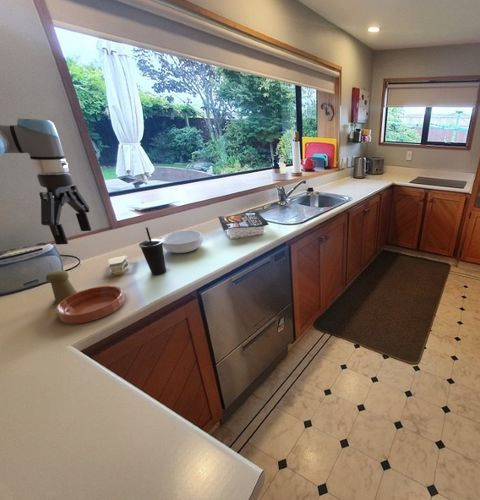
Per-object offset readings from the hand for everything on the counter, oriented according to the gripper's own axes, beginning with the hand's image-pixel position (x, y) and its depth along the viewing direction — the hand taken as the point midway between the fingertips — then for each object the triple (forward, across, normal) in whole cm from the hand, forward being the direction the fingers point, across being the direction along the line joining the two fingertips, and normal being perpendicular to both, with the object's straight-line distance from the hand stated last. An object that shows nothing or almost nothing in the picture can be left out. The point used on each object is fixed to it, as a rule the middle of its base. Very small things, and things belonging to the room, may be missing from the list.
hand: (75, 237), depth 96 cm
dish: (+20, -14, -7) cm, 26 cm away
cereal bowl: (+18, +29, -24) cm, 42 cm away
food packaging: (+17, +49, -50) cm, 72 cm away
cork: (+21, -7, +4) cm, 22 cm away
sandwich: (+20, +12, -5) cm, 23 cm away
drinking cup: (+19, +7, -20) cm, 29 cm away
